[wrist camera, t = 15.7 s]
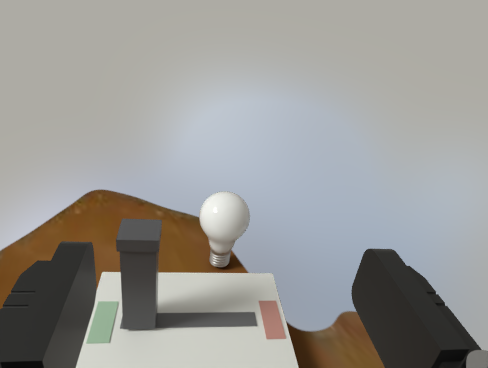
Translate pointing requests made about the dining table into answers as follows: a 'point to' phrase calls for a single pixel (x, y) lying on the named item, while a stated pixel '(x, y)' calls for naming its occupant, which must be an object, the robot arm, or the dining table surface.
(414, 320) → the robot arm
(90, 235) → the dining table surface
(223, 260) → the lightbulb
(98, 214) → the dining table surface
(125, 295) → the handle
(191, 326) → the breaker panel
